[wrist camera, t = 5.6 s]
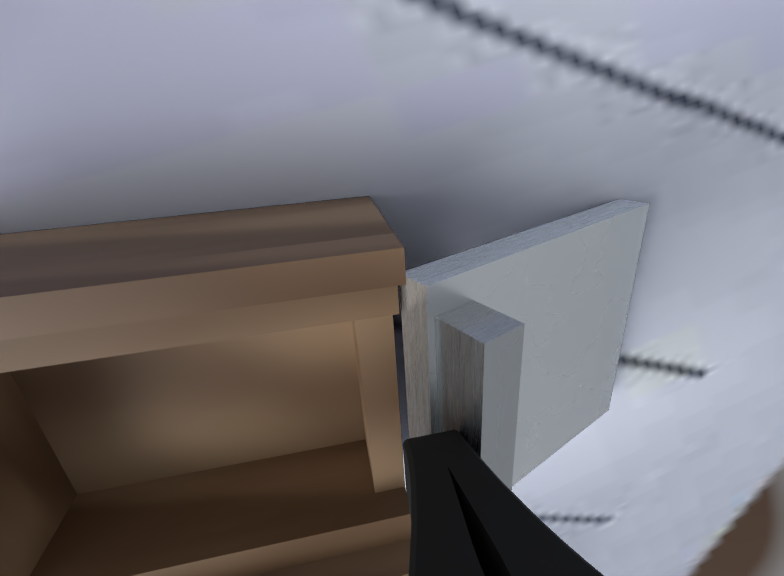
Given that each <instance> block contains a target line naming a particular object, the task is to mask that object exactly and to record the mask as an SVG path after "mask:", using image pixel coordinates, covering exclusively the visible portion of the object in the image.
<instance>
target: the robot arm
mask: <svg viewBox="0 0 784 576" xmlns="http://www.w3.org/2000/svg"><path fill="white" fill-rule="evenodd" d="M403 450H404V464H405V478H406V492H407V500H408V505H409V510H410V516H411V542H410V561H409V576H604V575H603V574H601V573H600V572H599V571H598V570H596V569H595V568H594V567H593V566H592V565H590V564H589V563H588V562H587V561H586V560H584V559H583V558H582V557H581V556H580V555H579V554H577V553H576V552H575V551H574V550H573V549H572V548H570V547H569V546H568V545H567V544H566V543H565V542H564V541H563V540H562V539H560V538H559V537H558V536H557V535H556V534H555V533H554V532H553V531H552V530H551V529H550V528H548V527H547V526H546V525H545V524H544V523H543V522H542V521H541V520H540V519H539V518H538V517H537V516H536V515H535V514H534V513H533V512H532V511H531V510H530V509H529V508H528V507H526V506H525V504H524V503H523V502H522V501H521V500H520V499H519V498H518V497H517V496H516V495H515V494H514V493H513V492H512V491H511V490H510V489H509V488H508V487H507V486H506V485H505V484H504V483H503V482H502V481H501V480H500V479H499V478H498V477H497V476H496V474H495V473H494V472H493V471H492V470H491V469H490V468H489V467H488V466H487V464H486V463H485V462H484V461H483V460H482V459H481V458H480V457H479V455H478V454H477V453H476V452H475V451H474V450H473V448H472V447H471V446H470V445H469V444H468V442H467V441H466V440H465V439H464V438H463V436H462V435H461V434H460V433H459V432H458V431H457V430H450V431H445V432H439V433H434V434H429V435H424V436H419V437H414V438H409V439H407V440H406V441H405V442H404V443H403Z"/></svg>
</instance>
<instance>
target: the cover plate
mask: <svg viewBox="0 0 784 576" xmlns="http://www.w3.org/2000/svg"><path fill="white" fill-rule="evenodd" d="M648 208H649V203H642V202H635V201H629V200H622V199H618V200H615V201H612V202H609V203H606V204H603V205H600V206H597V207H594V208H591V209H588V210H585V211H582V212H579V213H576V214H573V215H570V216H567V217H564V218H561V219H558V220H555V221H552V222H549V223H546V224H543V225H540V226H537V227H535V228H532V229H529V230H526V231H523V232H520V233H517V234H514V235H511V236H508V237H505V238H502V239H499V240H496V241H493V242H490V243H487V244H484V245H481V246H478V247H475V248H472V249H469V250H466V251H463V252H460V253H457V254H454V255H451V256H448V257H445V258H442V259H439V260H436V261H433V262H430V263H427V264H424V265H421V266H419V267H416V268H413V269H410V270H407V271H406V285H400V301H401V317H402V333H403V348H404V364H405V380H406V396H407V412H408V427H409V438H414V437H419V436H424V435H429V434H434V433H439V432H445V431H450V430H457V431H458V432H459V433H460V434H461V435H462V436H463V438H464V439H465V440H466V441H467V442H468V444H469V445H470V446H471V447H472V448H473V450H474V451H475V452H476V453H477V454H478V455H479V457H480V458H481V459H482V460H483V461H484V462H485V463H486V464H487V466H488V467H489V468H490V469H491V470H492V471H493V472H494V473H495V474H496V476H497V477H498V478H499V479H500V480H501V481H502V482H503V483H504V484H505V485H506V486H507V487H508V488H509V489H510V490H512V486H513V485H514V484H516V483H517V482H518V481H519V480H521V479H522V478H523V477H524V476H526V475H527V474H528V473H530V472H531V471H532V470H533V469H535V468H536V467H537V466H538V465H540V464H541V463H542V462H543V461H545V460H546V459H547V458H548V457H550V456H551V455H552V454H554V453H555V452H556V451H557V450H559V449H560V448H561V447H562V446H564V445H565V444H566V443H567V442H569V441H570V440H571V439H573V438H574V437H575V436H576V435H578V434H579V433H580V432H581V431H583V430H584V429H585V428H586V427H588V426H589V425H590V424H591V423H593V422H594V421H595V420H597V419H598V418H599V417H600V416H602V415H603V414H604V413H605V412H607V411H608V410H609V406H610V401H611V396H612V391H613V386H614V381H615V376H616V370H617V365H618V360H619V355H620V350H621V345H622V340H623V335H624V330H625V325H626V320H627V315H628V310H629V304H630V299H631V294H632V289H633V284H634V279H635V274H636V269H637V264H638V259H639V254H640V249H641V244H642V238H643V233H644V228H645V223H646V218H647V213H648Z"/></svg>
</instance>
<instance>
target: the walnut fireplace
mask: <svg viewBox="0 0 784 576" xmlns="http://www.w3.org/2000/svg"><path fill="white" fill-rule="evenodd" d="M400 285H406V270H405V251H404V246H403V245H402V243H401V242H400V241H399V239H398V238H397V236H396V235H395V233H394V232H393V230H392V229H391V227H390V226H389V225H388V223H387V222H386V220H385V219H384V217H383V216H382V214H381V213H380V212H379V210H378V209H377V207H376V206H375V204H374V203H373V201H372V200H371V198H370V197H369V196H364V197H354V198H345V199H335V200H326V201H316V202H306V203H297V204H287V205H277V206H268V207H258V208H249V209H239V210H229V211H220V212H210V213H200V214H191V215H181V216H172V217H162V218H152V219H143V220H133V221H123V222H114V223H104V224H95V225H85V226H75V227H66V228H56V229H46V230H37V231H27V232H18V233H8V234H0V576H409V561H410V542H411V516H410V510H409V505H408V500H407V493H406V489H405V481H404V467H403V453H402V438H401V424H400V410H399V396H398V381H397V367H396V353H395V339H394V325H393V315H396V314H399V299H398V286H400Z"/></svg>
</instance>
